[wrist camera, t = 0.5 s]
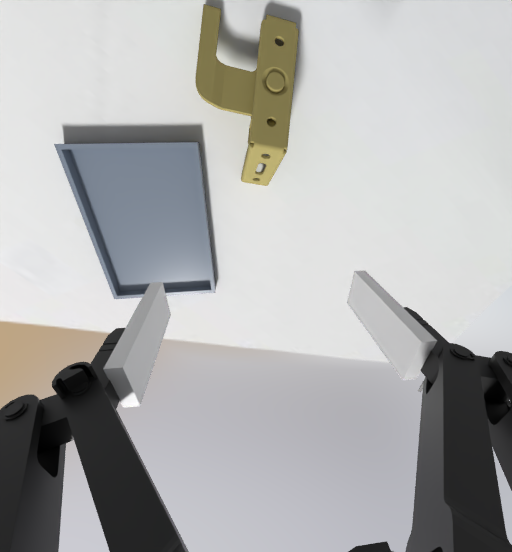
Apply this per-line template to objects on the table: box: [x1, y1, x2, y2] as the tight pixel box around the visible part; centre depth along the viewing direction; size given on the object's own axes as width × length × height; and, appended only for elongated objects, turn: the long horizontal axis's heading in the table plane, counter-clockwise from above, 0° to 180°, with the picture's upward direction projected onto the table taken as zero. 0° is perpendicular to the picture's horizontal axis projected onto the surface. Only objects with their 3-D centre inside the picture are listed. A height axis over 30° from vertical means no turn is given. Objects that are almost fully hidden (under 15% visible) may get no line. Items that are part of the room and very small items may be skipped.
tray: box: [54, 142, 216, 299], centre depth 36 cm, size 23×17×2 cm
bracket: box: [196, 4, 299, 186], centre depth 29 cm, size 10×14×10 cm
